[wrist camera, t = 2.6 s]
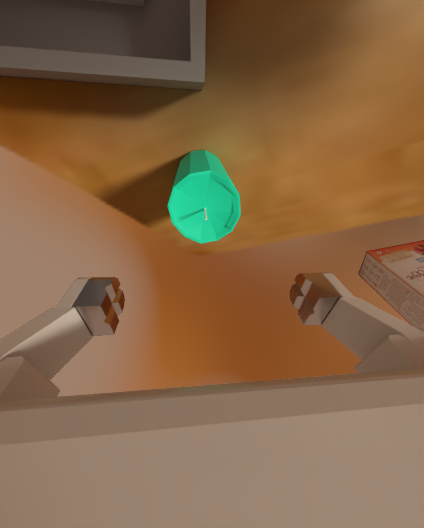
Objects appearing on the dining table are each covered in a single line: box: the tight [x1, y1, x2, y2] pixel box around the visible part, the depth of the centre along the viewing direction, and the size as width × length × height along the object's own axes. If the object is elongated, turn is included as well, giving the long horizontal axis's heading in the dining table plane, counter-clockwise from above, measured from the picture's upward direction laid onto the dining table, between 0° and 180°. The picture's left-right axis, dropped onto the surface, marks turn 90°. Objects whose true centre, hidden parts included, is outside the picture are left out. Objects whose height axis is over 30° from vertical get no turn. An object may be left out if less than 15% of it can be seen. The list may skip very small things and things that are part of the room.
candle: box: [168, 150, 241, 243], centre depth 19 cm, size 6×6×12 cm
